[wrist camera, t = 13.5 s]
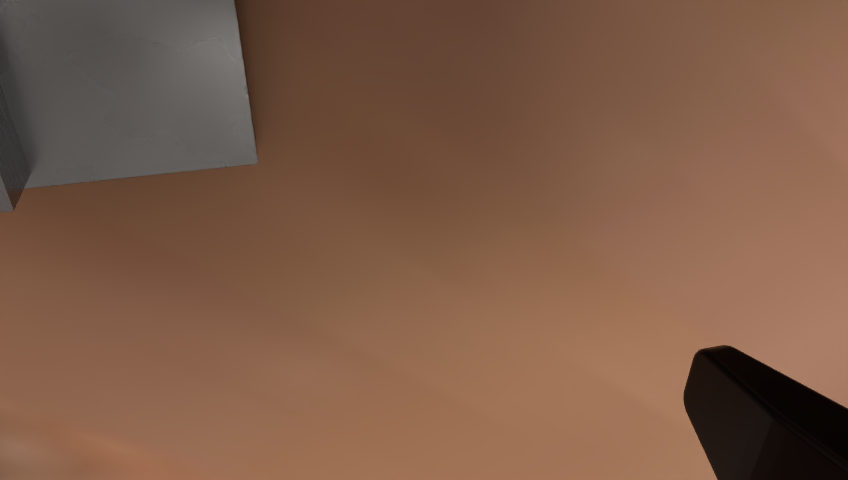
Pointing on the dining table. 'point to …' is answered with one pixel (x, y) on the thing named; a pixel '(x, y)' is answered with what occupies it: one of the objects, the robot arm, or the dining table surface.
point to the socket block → (119, 91)
